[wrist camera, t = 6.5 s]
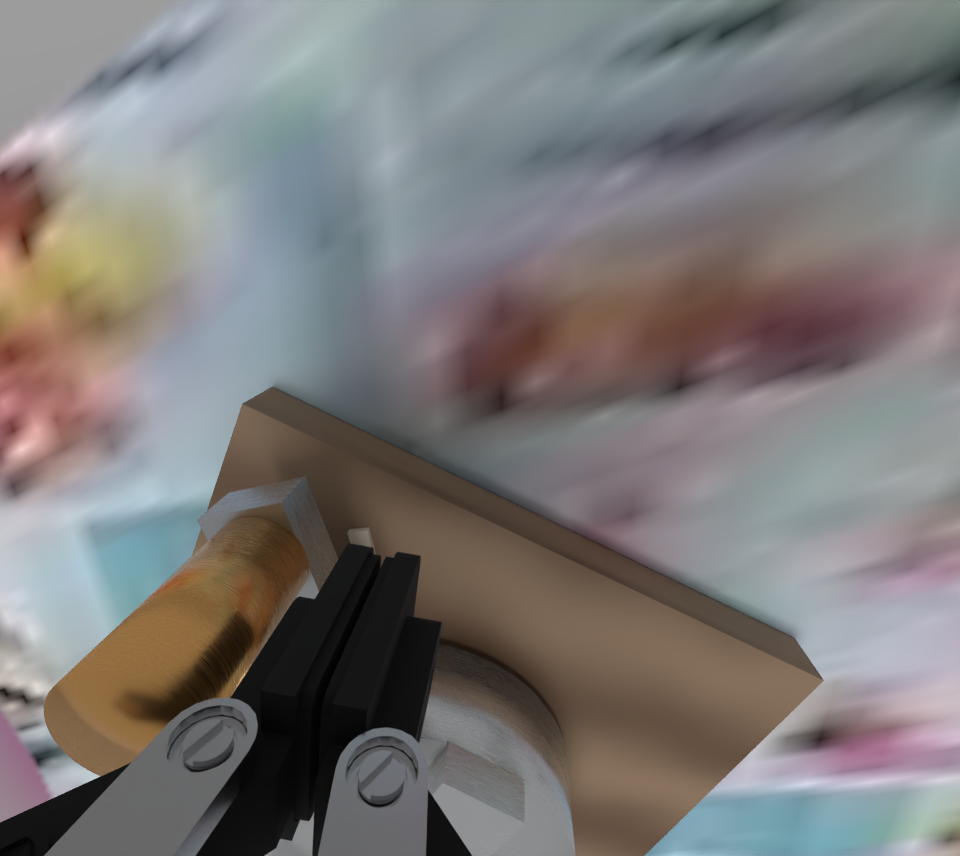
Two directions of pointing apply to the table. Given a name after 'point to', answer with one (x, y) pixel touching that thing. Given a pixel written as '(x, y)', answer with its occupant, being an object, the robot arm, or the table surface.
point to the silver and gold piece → (241, 636)
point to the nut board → (548, 620)
